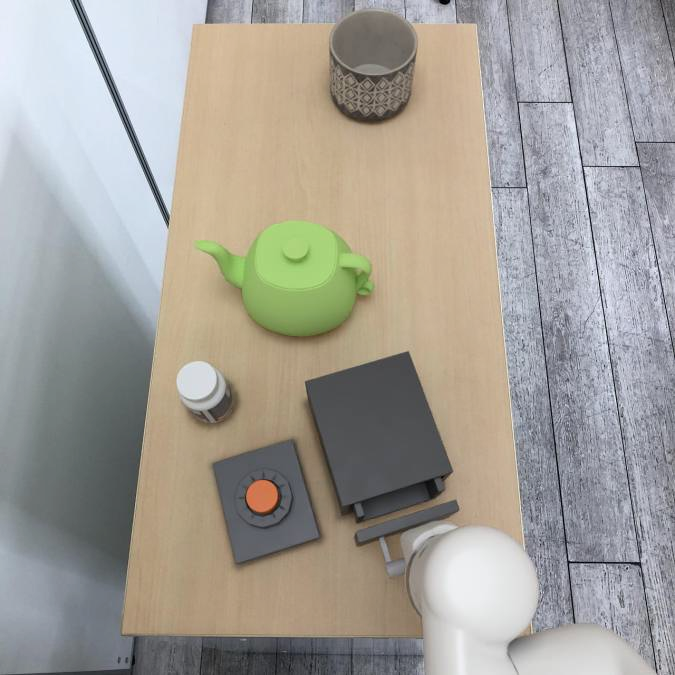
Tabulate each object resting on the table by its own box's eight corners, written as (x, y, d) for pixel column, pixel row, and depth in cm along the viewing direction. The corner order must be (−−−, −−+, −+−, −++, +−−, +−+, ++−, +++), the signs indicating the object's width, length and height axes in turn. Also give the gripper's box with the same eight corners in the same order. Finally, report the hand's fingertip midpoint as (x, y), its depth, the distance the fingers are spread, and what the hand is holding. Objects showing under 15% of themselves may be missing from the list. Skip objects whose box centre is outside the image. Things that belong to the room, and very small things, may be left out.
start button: (282, 508, 72) (281, 506, 71) (252, 517, 72) (250, 516, 70) (274, 478, 74) (273, 475, 72) (244, 487, 73) (242, 485, 72)
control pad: (320, 538, 75) (319, 536, 71) (238, 564, 74) (233, 563, 70) (293, 442, 79) (291, 435, 75) (215, 466, 78) (209, 460, 74)
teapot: (205, 338, 84) (183, 296, 72) (221, 241, 90) (202, 186, 77) (370, 349, 83) (375, 309, 71) (375, 250, 89) (381, 197, 77)
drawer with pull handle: (461, 554, 73) (474, 550, 66) (368, 585, 72) (371, 584, 65) (410, 411, 79) (417, 394, 72) (324, 437, 78) (322, 422, 71)
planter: (352, 52, 102) (353, -3, 93) (423, 79, 100) (432, 25, 91) (316, 108, 98) (313, 55, 89) (389, 137, 96) (395, 87, 86)
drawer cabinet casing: (440, 485, 77) (453, 471, 68) (342, 516, 76) (342, 506, 67) (401, 376, 82) (408, 350, 73) (308, 403, 81) (304, 381, 72)
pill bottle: (229, 376, 82) (215, 349, 73) (240, 417, 80) (227, 395, 71) (186, 389, 82) (166, 364, 72) (196, 430, 80) (177, 410, 70)
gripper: (531, 665, 49) (481, 640, 66) (462, 478, 54) (432, 500, 71) (441, 697, 48) (413, 664, 65) (379, 504, 53) (369, 521, 70)
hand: (423, 579), depth 68 cm, fingers closed
